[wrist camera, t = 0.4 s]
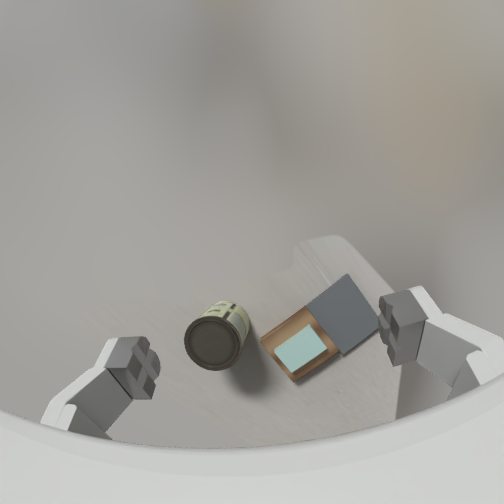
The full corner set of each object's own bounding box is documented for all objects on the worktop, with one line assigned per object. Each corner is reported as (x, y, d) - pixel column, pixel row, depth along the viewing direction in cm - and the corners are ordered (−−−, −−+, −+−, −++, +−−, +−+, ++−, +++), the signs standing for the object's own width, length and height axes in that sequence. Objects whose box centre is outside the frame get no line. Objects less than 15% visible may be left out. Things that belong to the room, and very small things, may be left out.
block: (325, 345, 57) (327, 348, 55) (291, 369, 58) (291, 372, 56) (309, 324, 57) (310, 326, 55) (274, 348, 58) (274, 352, 56)
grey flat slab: (380, 322, 58) (382, 324, 57) (341, 352, 59) (342, 354, 58) (346, 273, 59) (348, 274, 57) (305, 305, 60) (306, 306, 59)
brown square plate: (336, 346, 60) (339, 350, 57) (293, 376, 61) (293, 382, 58) (305, 305, 60) (306, 308, 57) (261, 337, 61) (260, 342, 58)
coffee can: (222, 353, 62) (206, 379, 48) (195, 316, 63) (172, 334, 49) (259, 330, 61) (253, 353, 47) (232, 291, 62) (218, 305, 48)
